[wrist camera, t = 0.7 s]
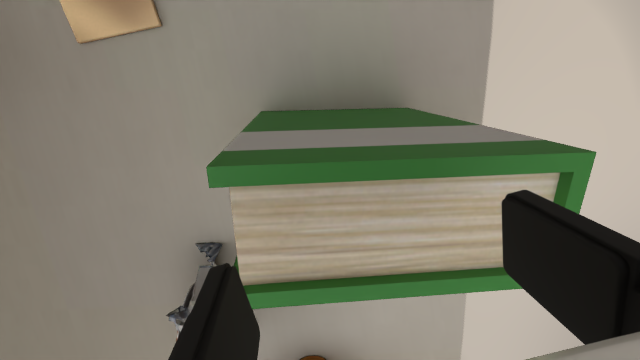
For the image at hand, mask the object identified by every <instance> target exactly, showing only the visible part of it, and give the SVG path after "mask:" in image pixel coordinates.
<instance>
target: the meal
mask: <svg viewBox="0 0 640 360" xmlns="http://www.w3.org/2000/svg"><path fill="white" fill-rule="evenodd" d="M196 246H197V247H198V249H199V250H200V251H201V252H206V254H207V255H206V257H208V256H209V257H210V259H209V260H207V261H209V262H211V265H206V266H199V270H198V274H197V278H196V282H195V283H194V284H193V285H192V286H191V288H190V289H189V291H188V293H187V295H186V298H185V300H184V304H183V306H180V307H178V308H177V309H175V310H174V311H172V312H170V313H169V314H167V315H166V316H168V317H169V321H173V322H174V324H175V325H176V329H177V333H178V336H177V339H178V337H179V334H180V332H181V330H182V327H183V325H184V323H185V321H186V318H187V317H188V315H189V314H190V313H191V311H192V309H193V306H194V304H195V302H196V299H197V297H198V295H199V292H200V290H201V288H202V285H203V283H204V281H205V278H206V276H207V274H208V271H209V269H210V268H211V267H214V266H218V265H216V264H215V262H214V261H215V258H216V256H217V254H218V252H219V251H220V249H221V247H222V244H220V243H203V244H196ZM177 339H176V341H177Z"/></svg>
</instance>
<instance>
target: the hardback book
mask: <svg viewBox="0 0 640 360" xmlns="http://www.w3.org/2000/svg"><path fill="white" fill-rule="evenodd" d="M595 156H596V152H594V151H589V150H586V149H581V148H576V147H573V146H568V145H564V144H560V143H555V142H551V141H547V140H543V139H539V138H534V137H530V136H526V135H521V134H517V133H513V132H508V131H504V130H500V129H495V128H491V127H487V126H483V125H479V124H475V123H470V122H466V121H462V120H457V119H453V118H449V117H445V116H440V115H436V114H432V113H428V112H423V111H419V110H415V109H410V108H382V109H341V110H300V111H261V112H260V113H259V114H258V115H257V116H256V117H255V118H254V119H253V120H252V121H251V122H250V123H249V124H248V125H247V126H246V127H245V129H244V130H243V131H242V132H241V133H240V134H239V135H238V136H237V137H236V138H235V139H234V140H233V141H232V142H231V143H230V144H229V145H228V146H227V147H226V148H225V149H224V150H223V151H222V152H221V153H220V154H219V155H218V156H217V157H216V158H215V159H214V160H213V161H212V162H211V163H210V164H209V165H208V166H207V167H206V168H207V175H208V182H209V188H218V187H229V191H230V199H231V207H232V216H233V224H234V233H235V241H236V250H237V257H236V260H235V263H234V266H235V267H236V269H237V271H238V274H239V276H240V279H241V281H242V284H243V287H244V289H245V292H246V294H247V297H248V300H249V302H250V305H251V308H252V309H259V308H272V307H286V306H299V305H312V304H325V303H338V302H352V301H365V300H378V299H391V298H405V297H418V296H431V295H444V294H457V293H471V292H484V291H497V290H510V289H523V288H522V287H521V286H520V285H519V284H518V283H516V282H515V281H514V280H513V279H512V278H511V277H510V276H509V275H508V274H507V273H506V271H505V269H504V267H503V246H502V200H503V199H505V197H506V195H507V194H509V193H513V192H517V191H521V190H529V191H531V192H533V193H535V194H537V195H539V196H542V197H544V198H546V199H548V200H550V201H552V202H554V203H556V204H558V205H561V206H563V207H565V208H567V209H569V210H571V211H573V212H575V213H577V214H579V213H580V209H581V205H582V202H583V198H584V195H585V191H586V187H587V184H588V181H589V177H590V173H591V170H592V166H593V163H594V159H595Z"/></svg>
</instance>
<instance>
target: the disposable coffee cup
mask: <svg viewBox="0 0 640 360" xmlns="http://www.w3.org/2000/svg"><path fill="white" fill-rule="evenodd" d="M300 360H326V359H324V358H322V357H319V356H307V357H304V358H302V359H300Z"/></svg>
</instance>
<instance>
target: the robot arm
mask: <svg viewBox="0 0 640 360" xmlns="http://www.w3.org/2000/svg"><path fill="white" fill-rule="evenodd" d="M502 246H503V267H504V269H505V271H506V273H507V274H508V275H509V276H510V277H511V278H512V279H513V280H514V281H515V282H516V283H518V284H519V285H520V286H521V287H522V288H523V289H524V290H526V292H528V293H529V294H530V295H531V296H532V297H533V298H534V299H535V300H536V301H537V302H539V303H540V304H541V305H542V306H543V307H544V308H545V309H546V310H547V311H548V312H550V313H551V314H552V315H553V316H554V317H555V318H556V319H557V320H558V321H559V322H561V323H562V324H563V325H564V326H565V327H566V328H567V329H568V330H569V331H570V332H572V333H573V334H574V335H575V336H576V337H577V338H578V339H579V340H580V341H582V342H583V343H584V344H585V345H583V346H579V347H575V348H571V349H567V350H563V351H559V352H554V353H551V354H547V355H543V356H538V357H534V358H530V359H526V360H640V243H639V242H637V241H635V240H632V239H630V238H628V237H626V236H624V235H622V234H620V233H618V232H615V231H613V230H611V229H609V228H607V227H605V226H603V225H601V224H598V223H596V222H594V221H592V220H590V219H588V218H586V217H584V216H581V215H579V214H577V213H575V212H573V211H571V210H569V209H567V208H565V207H563V206H561V205H558V204H556V203H554V202H552V201H550V200H548V199H546V198H544V197H542V196H539V195H537V194H535V193H533V192H531V191H529V190H521V191H517V192H513V193H509V194H507V195H506V197H505V199H503V200H502ZM259 340H260V331H259V326H258V323H257V321H256V318H255V315H254V313H253V310H252V308H251V305H250V302H249V300H248V297H247V294H246V292H245V289H244V287H243V284H242V281H241V279H240V276H239V274H238V271H237V269H236V267H235V266H232V267H231V266H230V265H229V264H228V263H226V264H222V265H218V266H214V267H211V268H210V269H209V271H208V274H207V276H206V278H205V281H204V283H203V285H202V288H201V290H200V292H199V295H198V297H197V299H196V302H195V304H194V306H193V309H192V311H191V313H190V314H189V315H188V317H187V318H186V321H185V323H184V325H183V327H182V330H181V332H180V334H179V337H178V339H177V341H176V343H175V346H174V348H173V350H172V353H171V355H170V357H169V359H168V360H257V356H258V348H259Z"/></svg>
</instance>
